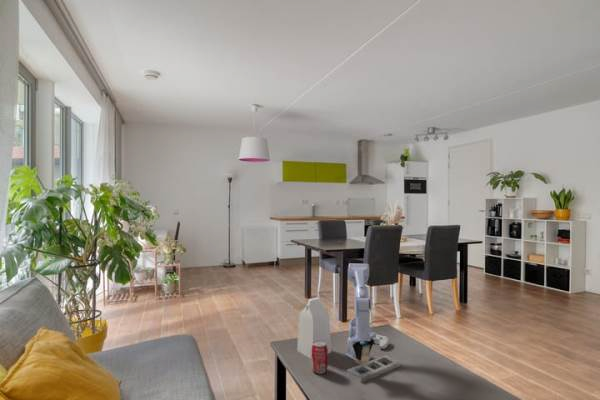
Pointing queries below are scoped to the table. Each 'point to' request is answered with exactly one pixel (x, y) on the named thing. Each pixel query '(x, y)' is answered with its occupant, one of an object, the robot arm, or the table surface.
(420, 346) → the table surface
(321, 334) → the milk
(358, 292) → the robot arm
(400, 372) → the table surface
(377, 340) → the game controller
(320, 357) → the soda can
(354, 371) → the grey compartment tray
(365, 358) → the peg
